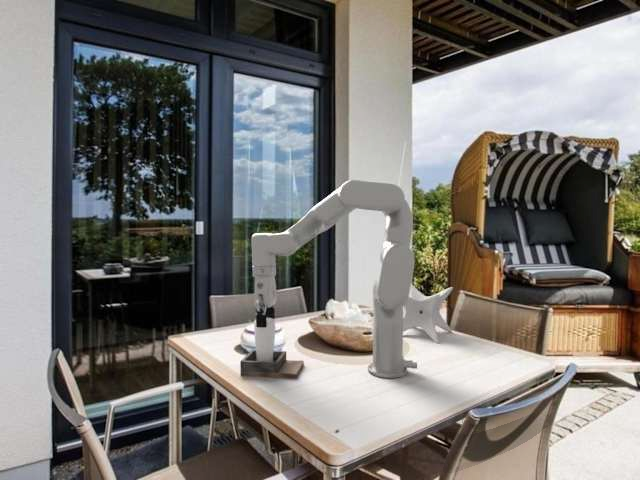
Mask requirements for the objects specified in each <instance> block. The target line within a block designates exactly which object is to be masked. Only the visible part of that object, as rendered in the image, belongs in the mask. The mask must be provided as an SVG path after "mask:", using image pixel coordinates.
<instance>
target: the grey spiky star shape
mask: <svg viewBox="0 0 640 480" xmlns="http://www.w3.org/2000/svg"><path fill="white" fill-rule="evenodd" d="M453 289H454V287H453V286H451V287H448V288H446V289H443V290H442V291H440V292H437V293H435V294H432V295H430V296H429V295H427V296H426V295H424V294H423V293H421V292H420V291H419V290H418V288H416V287H415V286H414V285H413V284H412V283H411V287H410V292H409V294H410V296H408V300H407V302H406V303H405V305H404V306H403V309H404V311H405V314H404V315H403V333H405V332H406V331H408V330H411V329H413V328H421V329H422V330H423V331H425V333H426V334H427V335H428V336H429V337H430V338H431V340H432V341H434V343H436V344H440V340H439V337H438V333H437V330H436V327H438V328H440V329H442V330H444V331H446V332H448V333H453V331H452V328H451V327H450V326H449V325H448V323H447V322H446V320H445V319H444V318H443V316H442V314H441V313H440V309H441V306H442V305H443V303H444V301H446V299H447V298H448V296H449V295H450V294H451V292H452V291H453Z"/></svg>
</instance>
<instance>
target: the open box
mask: <svg viewBox="0 0 640 480" xmlns="http://www.w3.org/2000/svg"><path fill="white" fill-rule="evenodd" d="M304 364H305V363H304V360H290V359H287V351H285V350H284V351H282V350H274V352H273V362H262V361H257V358H256V349H251V350H250V351H249V352H248V354H246V355H245V356H243V358H241V360H240V376H243V377H244V376H245V377H258V378H259V377H261V378H262V377H263V378H277V379H280V378H281V379H293V380H294V379H295V380H296V379H297V378H298V376H299V375H300V373H301V371H302V369H303V368H304Z"/></svg>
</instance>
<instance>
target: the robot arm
mask: <svg viewBox="0 0 640 480" xmlns="http://www.w3.org/2000/svg"><path fill="white" fill-rule="evenodd" d="M356 209H357V210H358V209H359V210H366V211H373V212H374V211H375V212H376V211H377V212H382V214H383V215H384V218H385V228H384V237H383V241H382V246H381V250H380V255H379V260H380V262H381V268H380V275H379V277H378V278H376V280H375V281H374V283H373V287H372V305H373V307H372V308H373V313H372V314H373V315H372V316H373V317H372V319H373V321H372V323H373V325H372V326H373V327H372V333H373V334H372V362H371V363H369V365H368V367H367V371H368V373H370V375H373V376H376V377H379V378H385V379H396V378H401V377H404V376H406V375H407V374H408V369H416V370H417V369H418V362H417V361H416V362H415V361H414V360H410V359H409V360H406V359H404V358H405V357H404V355H403V354H404V353H403V351H404V350H403V349H404V347H403V346H404V339H403V338H404V332H403V318H404V305H405V303H406V302H407V300H408V297H410V287H411V284H412V281H413V275H414V268H415V255H414V252H413V250H412V248H411V242H412V241H411V240H412V235H413V233H412V232H413V226H414V225H413V224H414V218H413V213H412V209H411V207H410V205H409V203H408V201H407V200H406V198H405V193H404V191H403V189H402V188H401V187H400V186H399V185H397V184H395V183H385V182H384V183H383V182H376V181H366V180H358V179H357V180H356V179H350V180H347V181H346V182H344V183H343V184H342V185H341V186H340V187H338V188H337V189H336V190H334V191H333V192H331V194H329V195H328V196H327V197H324V199H322V200H321V201H320V202H318V203H317V204H316V205H314V206H313V207H312V208H311V209H310V210H309V211H308V212H307V213H306V215H304V216H303V217H302V218H301V219H300V220H298V221H297V222H296V223H294V224H293V225H292V226H291V227H289V228H288V229H286V230H285V231H283V232H279V233H272V232H271V233H270V232H260V233H254V234H252V236H251V241H250V242H251V263H252V264H251V268H252V277H254V306H255V319H256V326H257V327H264V328H265V327H267V319H266V318H273V319H275V317H276V316H275V315H276V314H275V304H276V303H277V302H278V299H277V297H278V295H277V283H276V277H275V276H277V269H276V268H277V267H276V265H277V264H276V261H277V260H276V256H282V257H289V256H292V255H293V254H295V253H296V251H298V250H299V249H300V248H302V247H303V246H304V245H305V244H307V243H309V242H310V241H312V239H314V238H315V237H316V236H318V235H319V234H322V233H324V232H326V231H328V230H329V229H330V228H332V227H333V226H334V225H336V224H338V223H339V222H340V221H341V220H343V219H344V218H345V217H347V216H348V215H350V213H352V212H354V211H355V210H356Z"/></svg>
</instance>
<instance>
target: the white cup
mask: <svg viewBox="0 0 640 480" xmlns="http://www.w3.org/2000/svg"><path fill="white" fill-rule="evenodd" d="M266 319H267V327H265V328H264V327H257V326H256V318H255V319H254V320H253V321H254V324H253V325H254V326H253V328H254V330H253V331H254V332H253V333H254V334H253V335H254V344H255V346H254V347H255V350H256V358H257V361H262V362H273V352H274V351H275V350H274V349H275V338H276V320H275V319H273V318H266Z"/></svg>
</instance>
